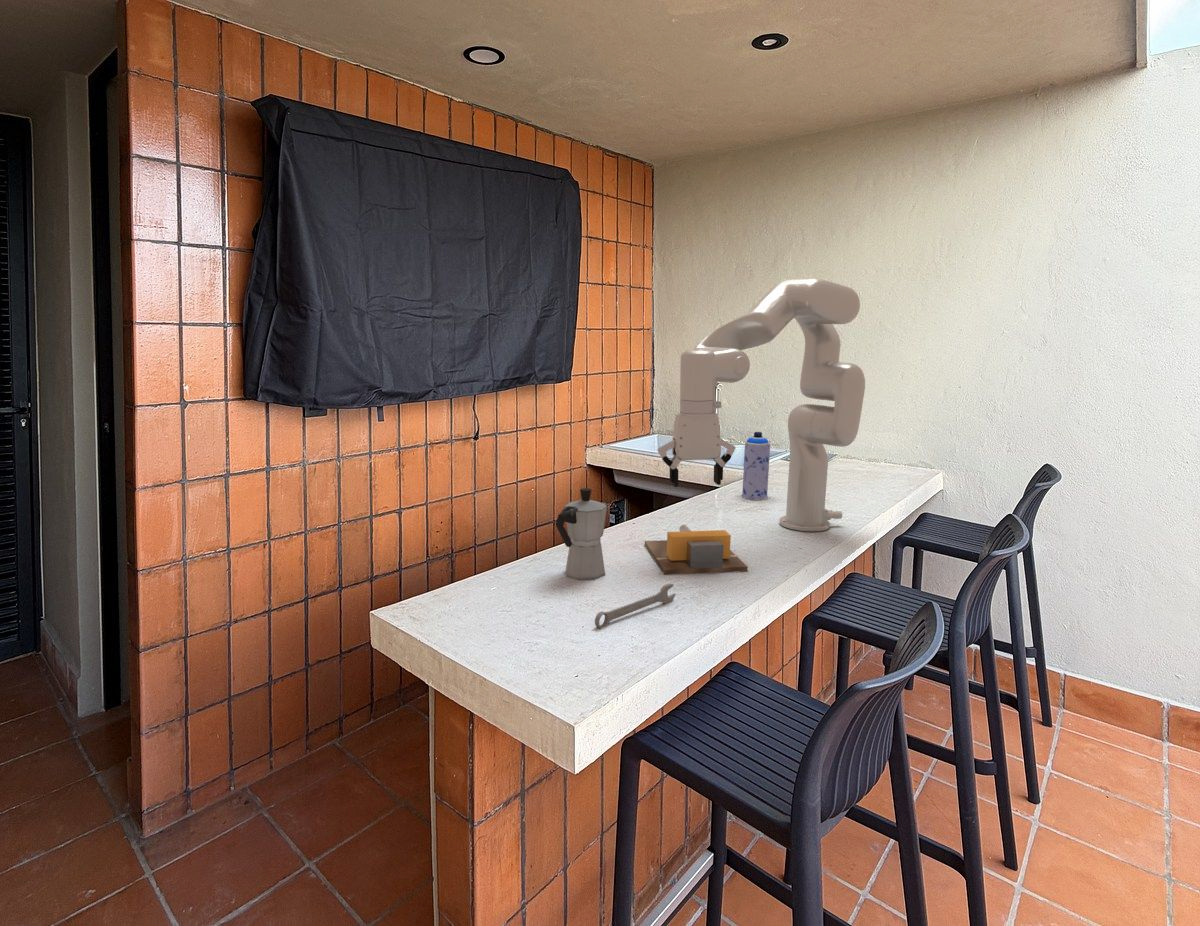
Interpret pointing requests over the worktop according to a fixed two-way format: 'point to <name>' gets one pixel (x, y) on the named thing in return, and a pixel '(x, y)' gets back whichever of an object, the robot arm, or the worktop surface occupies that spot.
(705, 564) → the grey block with rod
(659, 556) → the pipe board
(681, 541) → the collar
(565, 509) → the coffee maker
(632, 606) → the combination wrench
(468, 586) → the worktop surface
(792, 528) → the robot arm
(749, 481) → the aerosol can
